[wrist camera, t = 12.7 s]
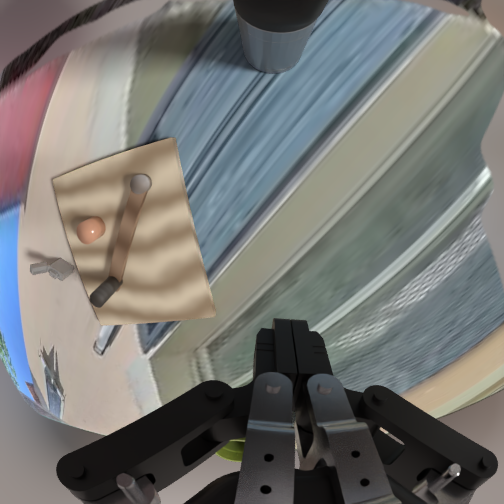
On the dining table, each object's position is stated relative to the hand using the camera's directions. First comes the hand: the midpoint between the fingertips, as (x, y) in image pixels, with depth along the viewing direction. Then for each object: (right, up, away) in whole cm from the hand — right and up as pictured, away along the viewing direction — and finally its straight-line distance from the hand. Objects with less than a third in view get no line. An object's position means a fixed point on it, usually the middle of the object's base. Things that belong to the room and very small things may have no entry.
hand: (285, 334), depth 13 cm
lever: (-23, +7, +33) cm, 40 cm away
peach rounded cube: (-30, +8, +33) cm, 45 cm away
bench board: (-24, +5, +36) cm, 44 cm away
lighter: (-42, +2, +38) cm, 57 cm away
